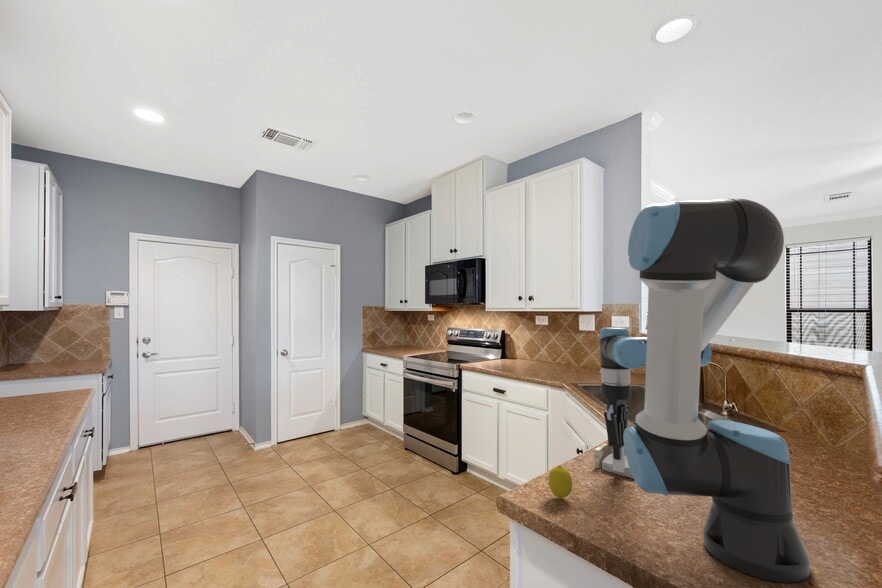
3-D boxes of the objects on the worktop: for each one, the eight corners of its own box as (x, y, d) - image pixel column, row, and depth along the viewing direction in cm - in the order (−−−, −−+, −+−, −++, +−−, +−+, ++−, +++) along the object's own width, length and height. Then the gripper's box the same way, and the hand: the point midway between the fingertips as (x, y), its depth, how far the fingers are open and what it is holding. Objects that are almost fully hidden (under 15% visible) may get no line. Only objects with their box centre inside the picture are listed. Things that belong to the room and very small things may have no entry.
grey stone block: (604, 482, 110) (595, 463, 111) (612, 469, 115) (603, 451, 115) (638, 482, 103) (629, 461, 104) (645, 468, 108) (636, 449, 108)
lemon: (562, 492, 97) (561, 459, 97) (577, 502, 92) (576, 467, 92) (544, 496, 95) (543, 463, 95) (558, 506, 90) (557, 471, 90)
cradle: (649, 481, 102) (648, 461, 102) (594, 467, 111) (594, 449, 112) (658, 471, 108) (657, 453, 108) (605, 458, 118) (605, 442, 118)
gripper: (610, 378, 114) (613, 460, 113) (593, 385, 105) (595, 474, 103) (637, 381, 109) (640, 466, 108) (622, 388, 100) (625, 482, 98)
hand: (618, 470), depth 106 cm, fingers closed
